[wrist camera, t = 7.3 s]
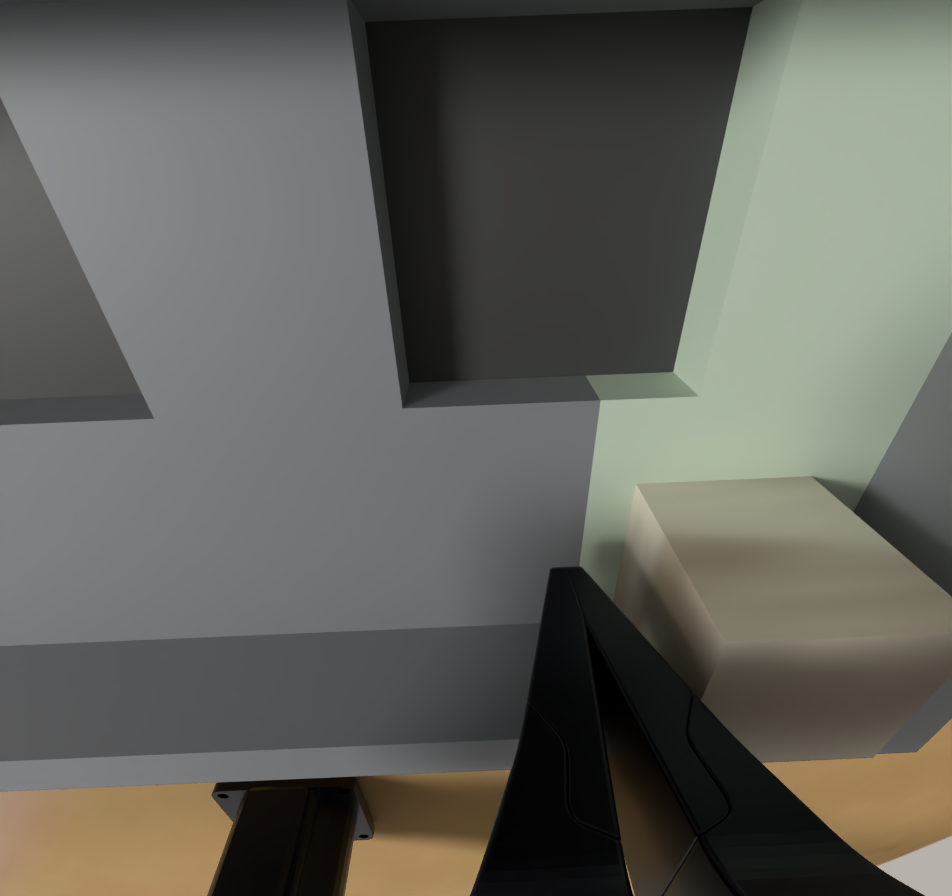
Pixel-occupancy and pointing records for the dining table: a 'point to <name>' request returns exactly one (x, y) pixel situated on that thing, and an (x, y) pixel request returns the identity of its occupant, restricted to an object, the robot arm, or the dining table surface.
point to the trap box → (430, 347)
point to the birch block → (784, 614)
